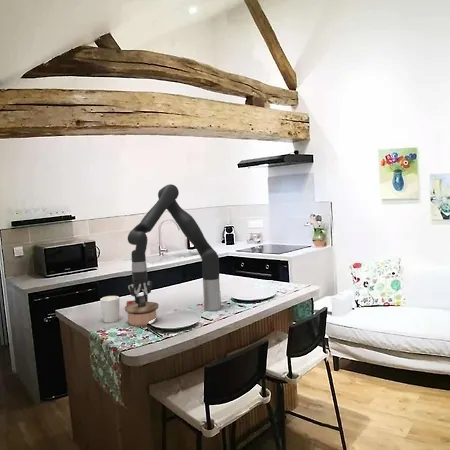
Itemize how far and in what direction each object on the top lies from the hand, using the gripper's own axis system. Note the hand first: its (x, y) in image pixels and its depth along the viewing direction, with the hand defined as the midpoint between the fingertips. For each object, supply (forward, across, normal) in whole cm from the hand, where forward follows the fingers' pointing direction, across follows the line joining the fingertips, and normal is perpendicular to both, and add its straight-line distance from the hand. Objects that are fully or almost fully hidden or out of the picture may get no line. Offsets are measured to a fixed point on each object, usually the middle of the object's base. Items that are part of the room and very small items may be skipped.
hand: (141, 302), depth 230 cm
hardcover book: (+11, -10, -22) cm, 26 cm away
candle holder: (+10, +10, -16) cm, 21 cm away
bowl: (+10, 0, 0) cm, 10 cm away
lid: (+3, 0, 0) cm, 3 cm away
